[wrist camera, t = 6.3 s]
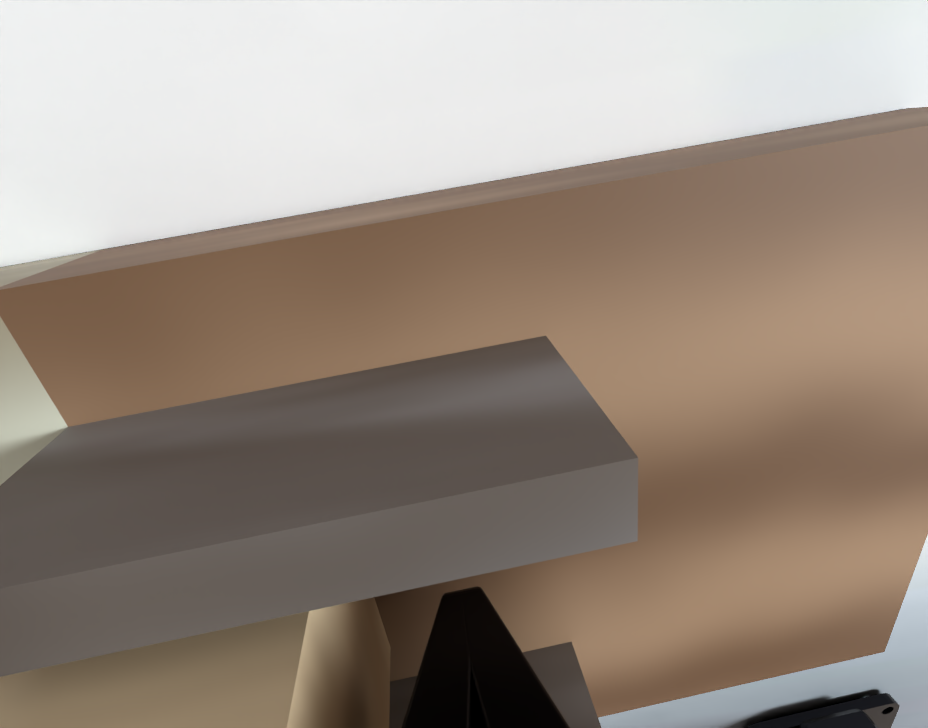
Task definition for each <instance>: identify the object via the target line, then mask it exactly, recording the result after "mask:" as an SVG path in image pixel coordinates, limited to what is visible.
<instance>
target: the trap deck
mask: <svg viewBox="0 0 928 728" xmlns="http://www.w3.org/2000/svg"><path fill="white" fill-rule="evenodd" d="M927 534H928V107H922V108H907V109H901V110H895V111H890V112H884V113H878V114H873V115H867V116H861V117H856V118H850V119H844V120H838V121H833V122H827V123H821V124H816V125H810V126H804V127H798V128H793V129H787V130H781V131H776V132H770V133H764V134H759V135H753V136H747V137H741V138H736V139H730V140H724V141H719V142H713V143H707V144H701V145H696V146H690V147H684V148H679V149H673V150H667V151H662V152H656V153H650V154H644V155H639V156H633V157H627V158H622V159H616V160H610V161H604V162H599V163H593V164H587V165H582V166H576V167H570V168H564V169H559V170H553V171H547V172H542V173H536V174H530V175H525V176H519V177H513V178H507V179H502V180H496V181H490V182H485V183H479V184H473V185H467V186H462V187H456V188H450V189H445V190H439V191H433V192H428V193H422V194H416V195H410V196H405V197H399V198H393V199H388V200H382V201H376V202H370V203H365V204H359V205H353V206H348V207H342V208H336V209H331V210H325V211H319V212H313V213H308V214H302V215H296V216H291V217H285V218H279V219H273V220H268V221H262V222H256V223H251V224H245V225H239V226H233V227H228V228H222V229H216V230H211V231H205V232H199V233H194V234H188V235H182V236H176V237H171V238H165V239H159V240H154V241H148V242H142V243H136V244H131V245H125V246H119V247H114V248H108V249H102V250H97V251H91V252H85V253H79V254H74V255H68V256H62V257H57V258H51V259H45V260H39V261H34V262H28V263H22V264H17V265H11V266H5V267H0V677H2V676H7V675H12V674H16V673H21V672H26V671H30V670H35V669H40V668H44V667H49V666H54V665H58V664H63V663H68V662H73V661H77V660H82V659H87V658H91V657H96V656H101V655H105V654H110V653H115V652H119V651H124V650H129V649H134V648H138V647H143V646H148V645H152V644H157V643H162V642H166V641H171V640H176V639H180V638H185V637H190V636H195V635H199V634H204V633H209V632H213V631H218V630H223V629H227V628H232V627H237V626H241V625H246V624H251V623H256V622H260V621H265V620H270V619H274V618H279V617H284V616H288V615H293V614H298V613H302V612H307V611H312V610H317V609H321V608H326V607H331V606H335V605H340V604H345V603H349V602H354V601H359V600H363V599H368V598H373V597H374V598H375V601H376V604H377V607H378V610H379V614H380V617H381V620H382V623H383V626H384V629H385V632H386V635H387V638H388V641H389V644H390V647H391V651H390V713H389V728H401V727H402V723H403V720H404V717H405V714H406V710H407V707H408V704H409V701H410V697H411V694H412V691H413V688H414V684H415V681H416V678H417V675H418V672H419V668H420V665H421V662H422V659H423V655H424V652H425V649H426V646H427V642H428V639H429V636H430V633H431V629H432V626H433V623H434V620H435V617H436V613H437V610H438V607H439V604H440V600H441V598H442V596H443V594H444V593H447V592H452V591H457V590H462V589H466V588H471V587H476V586H479V587H481V588H482V589H483V591H484V592H485V594H486V595H487V597H488V599H489V600H490V602H491V603H492V605H493V606H494V608H495V610H496V611H497V613H498V614H499V616H500V618H501V619H502V621H503V622H504V624H505V625H506V627H507V629H508V630H509V632H510V633H511V635H512V636H513V638H514V640H515V641H516V643H517V644H518V646H519V647H520V649H521V651H522V652H523V654H524V655H525V657H526V658H527V660H528V662H529V663H530V665H531V666H532V668H533V669H534V671H535V673H536V674H537V676H538V677H539V679H540V680H541V682H542V684H543V685H544V687H545V688H546V690H547V692H548V693H549V695H550V696H551V698H552V699H553V701H554V703H555V704H556V706H557V707H558V709H559V710H560V712H561V714H562V715H563V717H564V718H565V720H566V721H567V723H568V725H569V726H570V728H601V726H600V723H599V720H598V717H602V716H606V715H611V714H615V713H619V712H624V711H628V710H633V709H637V708H641V707H646V706H650V705H654V704H659V703H663V702H667V701H672V700H676V699H680V698H685V697H689V696H693V695H698V694H702V693H707V692H711V691H715V690H720V689H724V688H728V687H733V686H737V685H741V684H746V683H750V682H754V681H759V680H763V679H768V678H772V677H776V676H781V675H785V674H789V673H794V672H798V671H802V670H807V669H811V668H815V667H820V666H824V665H829V664H833V663H837V662H842V661H846V660H850V659H855V658H859V657H863V656H868V655H872V654H876V653H881V652H884V651H885V648H886V646H887V643H888V640H889V638H890V635H891V632H892V629H893V627H894V624H895V621H896V619H897V616H898V613H899V610H900V608H901V605H902V602H903V600H904V597H905V594H906V591H907V589H908V586H909V583H910V581H911V578H912V575H913V572H914V570H915V567H916V564H917V561H918V559H919V556H920V553H921V551H922V548H923V545H924V542H925V540H926V537H927Z"/></svg>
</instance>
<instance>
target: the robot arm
mask: <svg viewBox="0 0 928 728" xmlns="http://www.w3.org/2000/svg"><path fill="white" fill-rule="evenodd" d="M898 709H899V705H898V704H897V702H896V701H895V700H894V699H893V698H892V697H891V696H890V695H889V694H887V693H883V694H878V695H874V696H870V697H866V698H861V699H857V700H853V701H848V702H844V703H840V704H836V705H831V706H827V707H823V708H818V709H814V710H810V711H806V712H801V713H797V714H793V715H789V716H784V717H780V718H776V719H771V720H767V721H763V722H759V723H755V724H753V725H751V726H749V727H748V728H891V726H892V723H893V721H894V719H895V716H896V714H897V712H898ZM401 728H570V726H569V725H568V723H567V721H566V720H565V718H564V717H563V715H562V714H561V712H560V710H559V709H558V707H557V706H556V704H555V703H554V701H553V699H552V698H551V696H550V695H549V693H548V692H547V690H546V688H545V687H544V685H543V684H542V682H541V680H540V679H539V677H538V676H537V674H536V673H535V671H534V669H533V668H532V666H531V665H530V663H529V662H528V660H527V658H526V657H525V655H524V654H523V652H522V651H521V649H520V647H519V646H518V644H517V643H516V641H515V640H514V638H513V636H512V635H511V633H510V632H509V630H508V629H507V627H506V625H505V624H504V622H503V621H502V619H501V618H500V616H499V614H498V613H497V611H496V610H495V608H494V606H493V605H492V603H491V602H490V600H489V599H488V597H487V595H486V594H485V592H484V591H483V589H482V588H481V587H479V586H476V587H471V588H466V589H462V590H457V591H452V592H447V593H444V594H443V596H442V598H441V600H440V604H439V607H438V610H437V613H436V617H435V620H434V623H433V626H432V629H431V633H430V636H429V639H428V642H427V646H426V649H425V652H424V655H423V659H422V662H421V665H420V668H419V672H418V675H417V678H416V681H415V684H414V688H413V691H412V694H411V697H410V701H409V704H408V707H407V710H406V714H405V717H404V720H403V723H402V727H401Z"/></svg>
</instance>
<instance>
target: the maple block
mask: <svg viewBox="0 0 928 728" xmlns="http://www.w3.org/2000/svg"><path fill="white" fill-rule="evenodd" d="M390 651H391V647H390V644H389V641H388V638H387V635H386V632H385V629H384V626H383V623H382V620H381V617H380V614H379V610H378V607H377V604H376V601H375V598H374V597H373V598H368V599H363V600H359V601H354V602H349V603H345V604H340V605H335V606H331V607H326V608H321V609H317V610H312V611H307V612H302V613H298V614H293V615H288V616H284V617H279V618H274V619H270V620H265V621H260V622H256V623H251V624H246V625H241V626H237V627H232V628H227V629H223V630H218V631H213V632H209V633H204V634H199V635H195V636H190V637H185V638H180V639H176V640H171V641H166V642H162V643H157V644H152V645H148V646H143V647H138V648H134V649H129V650H124V651H119V652H115V653H110V654H105V655H101V656H96V657H91V658H87V659H82V660H77V661H73V662H68V663H63V664H58V665H54V666H49V667H44V668H40V669H35V670H30V671H26V672H21V673H16V674H12V675H7V676H2V677H0V728H389V713H390Z"/></svg>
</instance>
